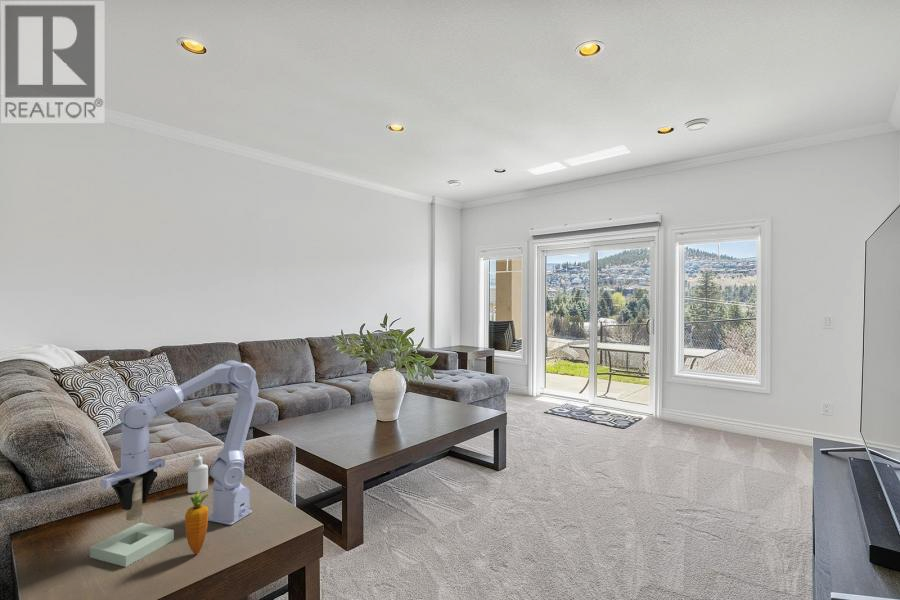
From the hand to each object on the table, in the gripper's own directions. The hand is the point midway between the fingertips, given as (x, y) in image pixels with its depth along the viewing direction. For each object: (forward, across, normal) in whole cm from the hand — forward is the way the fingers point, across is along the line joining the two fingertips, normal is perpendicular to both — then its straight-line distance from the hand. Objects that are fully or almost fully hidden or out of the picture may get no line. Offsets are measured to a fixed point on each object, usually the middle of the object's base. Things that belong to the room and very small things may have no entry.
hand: (134, 505), depth 107 cm
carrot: (+11, -3, +17) cm, 20 cm away
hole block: (+10, 0, 0) cm, 10 cm away
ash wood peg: (+3, 0, 0) cm, 3 cm away
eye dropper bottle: (+11, -30, -13) cm, 34 cm away
